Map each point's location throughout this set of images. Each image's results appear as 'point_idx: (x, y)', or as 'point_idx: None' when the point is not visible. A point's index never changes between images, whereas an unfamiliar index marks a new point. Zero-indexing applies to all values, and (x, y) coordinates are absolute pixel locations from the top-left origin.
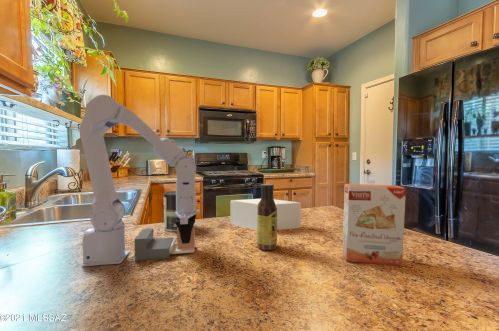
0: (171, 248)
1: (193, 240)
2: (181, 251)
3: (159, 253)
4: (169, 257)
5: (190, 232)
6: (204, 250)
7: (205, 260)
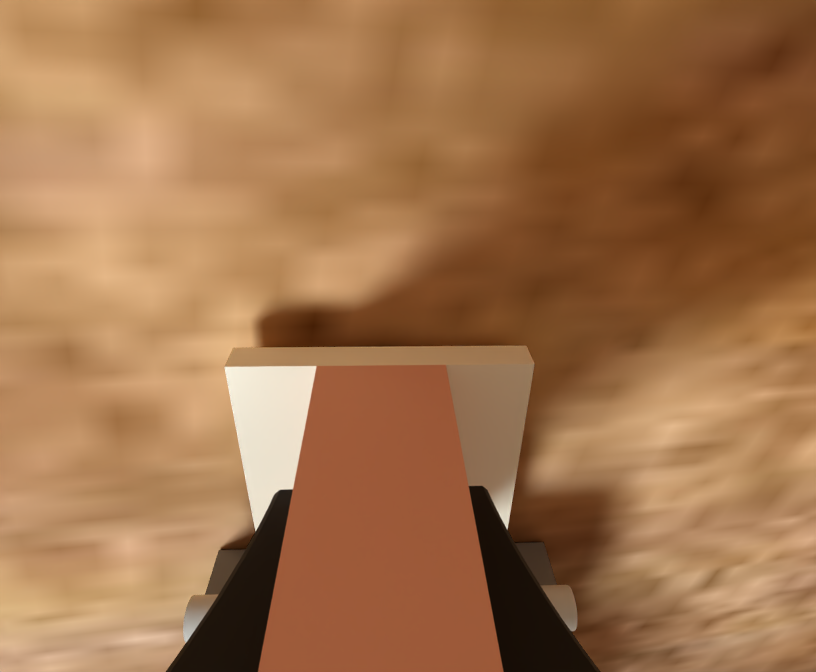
0: (571, 620)
1: (461, 456)
2: (511, 490)
3: None
4: (532, 543)
5: (588, 664)
6: (424, 198)
7: (788, 185)
